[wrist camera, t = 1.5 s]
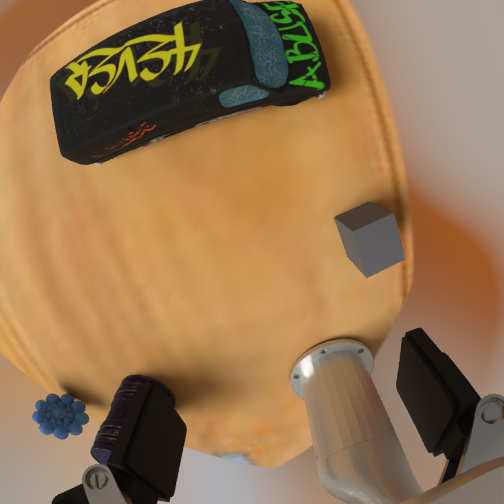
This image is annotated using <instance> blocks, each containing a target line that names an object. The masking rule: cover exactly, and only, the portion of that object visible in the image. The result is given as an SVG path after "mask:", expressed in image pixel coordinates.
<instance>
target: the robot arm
mask: <svg viewBox="0 0 504 504" xmlns="http://www.w3.org/2000/svg"><path fill="white" fill-rule="evenodd" d="M373 366H374V359H373V356H372V354H371V352H370V350H369V349H368V347H367V346H366V345H364V344H363V343H361V342H359V341H356V340H352V339H336V340H331V341H327V342H324V343H322V344H319V345H317V346H315V347H313V348H311V349H310V350H308V351H307V352H305V353H304V354H303V355H302V356H301V357H300V358H299V359H298V360H297V361H296V362H295V364H294V365H293V367H292V370H291V373H290V384H291V388H292V390H293V392H294V393H295V394H296V395H297V396H298V397H300V398H301V399H303V400H305V405H306V410H307V415H308V420H309V425H310V431H311V436H312V441H313V447H314V452H315V458H316V463H317V469H318V474H319V479H320V482H321V484H322V486H323V488H324V489H325V490H326V491H327V492H328V493H329V494H331V495H332V496H333V497H335V498H337V499H339V500H341V501H343V502H345V503H347V504H504V397H503V396H501V395H498V394H490V395H487V396H485V397H484V398H482V399H481V398H480V396H479V395H478V394H477V392H476V391H475V390H474V388H473V387H472V386H471V384H470V383H469V382H468V380H467V379H466V378H465V376H464V375H463V374H462V373H461V371H460V370H459V369H458V367H457V366H456V365H455V364H454V362H453V361H452V360H451V359H450V358H449V356H447V354H445V353H443V352H441V351H440V350H439V348H438V347H437V346H436V345H435V343H434V342H433V341H432V340H431V339H430V338H429V337H428V335H427V334H426V333H425V332H424V331H423V329H422V328H416V329H414V330H411V331H408V332H406V334H405V337H403V338H402V343H401V352H400V361H399V369H398V375H397V382H396V387H397V391H398V393H399V395H400V397H401V399H402V401H403V403H404V404H405V406H406V408H407V410H408V412H409V414H410V416H411V418H412V420H413V422H414V424H415V426H416V428H417V430H418V432H419V434H420V436H421V439H422V441H423V443H424V445H425V447H426V449H427V451H428V452H429V453H433V455H434V457H436V456H438V455H439V454H442V453H444V455H445V457H446V459H447V461H446V464H445V467H444V469H443V472H442V475H441V478H440V480H439V483H438V485H437V486H436V487H434V488H432V489H430V490H428V491H426V492H424V491H423V490H422V488H421V486H420V485H419V483H418V481H417V479H416V477H415V475H414V473H413V471H412V469H411V467H410V465H409V462H408V460H407V458H406V455H405V453H404V451H403V448H402V446H401V443H400V441H399V439H398V437H397V435H396V433H395V430H394V427H393V425H392V423H391V421H390V418H389V416H388V414H387V412H386V409H385V407H384V405H383V403H382V400H381V398H380V396H379V394H378V392H377V390H376V387H375V385H374V383H373V381H372V379H371V377H370V375H371V373H372V370H373ZM186 433H187V428H186V425H185V423H184V422H183V420H182V419H181V417H180V416H179V414H178V413H177V412H176V410H175V409H174V407H173V406H172V404H171V403H170V401H169V400H168V398H167V396H166V395H165V393H164V392H163V390H162V389H161V387H160V386H157V385H156V384H155V383H141V384H140V385H139V387H138V389H137V391H136V394H135V396H134V398H133V400H132V403H131V405H130V407H129V410H128V412H127V414H126V417H125V419H124V421H123V424H122V426H121V429H120V431H119V433H118V436H117V438H116V441H115V443H114V446H113V448H112V451H111V453H110V456H109V458H108V461H107V463H108V464H107V466H105V465H102V464H95V465H92V466H90V467H88V468H87V469H86V471H85V472H84V474H83V477H82V484H80V485H78V486H76V487H74V488H72V489H70V490H67V491H65V492H63V493H61V494H58V495H57V496H55V498H54V499H53V501H52V504H157V501H164V502H169V501H170V497H172V496H173V495H174V492H175V487H176V481H177V477H178V472H179V467H180V462H181V456H182V452H183V447H184V442H185V438H186Z"/></svg>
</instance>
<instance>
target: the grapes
mask: <svg viewBox="0 0 504 504" xmlns="http://www.w3.org/2000/svg"><path fill="white" fill-rule="evenodd" d="M46 401H47V402H46ZM46 401H44V400H39V401H37V402H36V405H35V407H36V409H37V410H38V411H36V412H34V413H33V416H32V418H33V420H34V421H35V422H37V423H39V424H40V427H39V429H40V431H41V432H42V433H44V434H46V435H49V434H52V433H53V434H54V436H55V437H57V438H58V439H66V438H67V437H68V433H71V434H73V435H79V434H81V433H82V429H83V428H82V426H81V425H84V424H87V423H88V422H89V416H88V415H87V414H86V413H84V411H85V408H86V406H85V404H84V403H83V402H81V401H75V402H74V398H73V396H72V395H70V394H64V395H62V396H61V398H60V397H59V396H58V395H57V394H53V393H52V394H49V395H48V396H47V398H46Z"/></svg>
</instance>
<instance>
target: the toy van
mask: <svg viewBox="0 0 504 504" xmlns="http://www.w3.org/2000/svg"><path fill="white" fill-rule="evenodd" d="M330 83H331V82H330V78H329V74H328V70H327V66H326V62H325V58H324V55H323V52H322V49H321V46H320V43H319V40H318V37H317V35H316V33H315V30H314V28H313V25H312V23H311V21H310V19H309V17H308V15H307V13H306V12H305V10H304V8H303V6H302V4H299V3H295V2H292V1H271V2H256V3H249V2H246V1H243V0H202V1H198V2H194V3H190V4H187V5H184V6H181V7H178V8H174V9H171V10H168V11H166V12H163V13H161V14H158V15H156V16H153V17H151V18H148V19H146V20H144V21H141V22H139V23H137V24H135V25H132V26H130V27H128V28H126V29H124V30H122V31H120V32H118V33H116V34H114V35H112V36H110V37H108V38H106V39H105V40H103V41H101V42H100V43H98V44H96V45H95V46H93V47H91V48H90V49H88V50H87V51H85V52H84V53H82V54H81V55H79V56H78V57H76V58H75V59H73V60H72V61H70V62H69V63H68V64H66V65H65V66H63V67H62V68H61V69H59V70H58V71H57V72H56V73H55V74H54V75H53V76H52V77H51V78H50V92H51V101H52V110H53V117H54V122H55V128H56V134H57V139H58V144H59V148H60V152H61V155H62V156H63V157H65V158H66V159H68V160H70V161H73V162H76V163H78V164H81V165H89V164H93V163H95V164H96V165H100V164H102V163H104V162H106V161H108V160H111V159H113V158H114V157H117V156H119V155H121V154H123V153H126V152H128V151H130V150H135V149H137V148H139V147H141V146H147V145H149V144H151V143H153V142H156V141H158V140H161V139H163V138H166V137H168V136H171V135H174V134H176V133H179V132H182V131H185V130H187V129H190V128H193V127H197V126H200V125H203V124H206V123H209V122H213V121H216V120H220V119H223V118H227V117H230V116H234V115H237V114H240V113H244V112H247V111H251V110H254V109H258V108H262V107H265V106H269V105H274V106H292V105H296V104H298V103H300V102H302V101H305V100H307V99H309V98H311V97H314V96H316V97H317V99H320V98H322V97H324V95H325V91H326V90H328V89H329V88H330Z"/></svg>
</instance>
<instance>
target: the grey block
mask: <svg viewBox="0 0 504 504" xmlns="http://www.w3.org/2000/svg"><path fill="white" fill-rule="evenodd" d="M334 219H335V222H336V225H337V227H338V230H339V233H340V236H341V239H342V242H343V245H344V248H345V251H346V254H347V257H348V258H349V259H350V260H351V261H352V262H353V263H354V264H355V266H356V267H357V268H358V269H359V270H360V271H361V272H362V273H363V275H364V276H365V277H366V278H368V277H370V276H372V275H374V274H376V273H378V272H380V271H382V270H384V269H386V268H388V267H390V266H392V265H394V264H396V263H398V262H400V261H402V260H404V259H405V258H404V253H403V248H402V244H401V239H400V235H399V231H398V227H397V223H396V219H395V215H394V213H393V212H391V211H389V210H386V209H384V208H382V207H379V206H377V205H375V204H372V203H370V202H368V203H365V204H363V205H361V206H359V207H356V208H354V209H352V210H349V211H347V212H345V213H342V214H340V215H338V216H336V217H334Z"/></svg>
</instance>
